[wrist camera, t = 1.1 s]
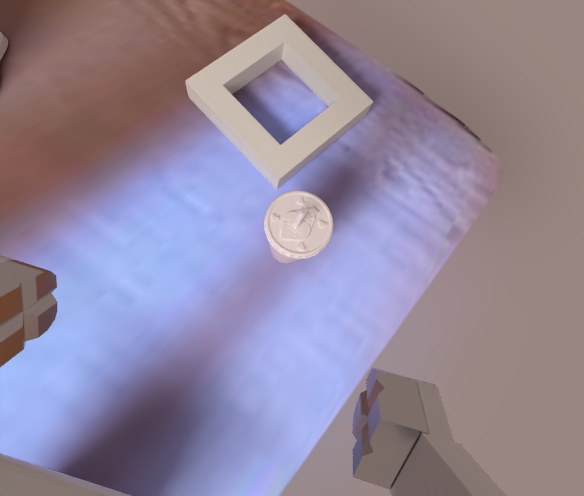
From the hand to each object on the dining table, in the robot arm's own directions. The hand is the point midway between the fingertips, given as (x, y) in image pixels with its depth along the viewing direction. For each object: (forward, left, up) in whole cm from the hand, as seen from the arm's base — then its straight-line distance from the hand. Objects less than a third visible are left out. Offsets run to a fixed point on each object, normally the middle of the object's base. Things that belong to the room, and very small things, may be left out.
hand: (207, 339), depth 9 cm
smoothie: (-3, +11, -32) cm, 34 cm away
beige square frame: (-17, +23, -32) cm, 43 cm away
